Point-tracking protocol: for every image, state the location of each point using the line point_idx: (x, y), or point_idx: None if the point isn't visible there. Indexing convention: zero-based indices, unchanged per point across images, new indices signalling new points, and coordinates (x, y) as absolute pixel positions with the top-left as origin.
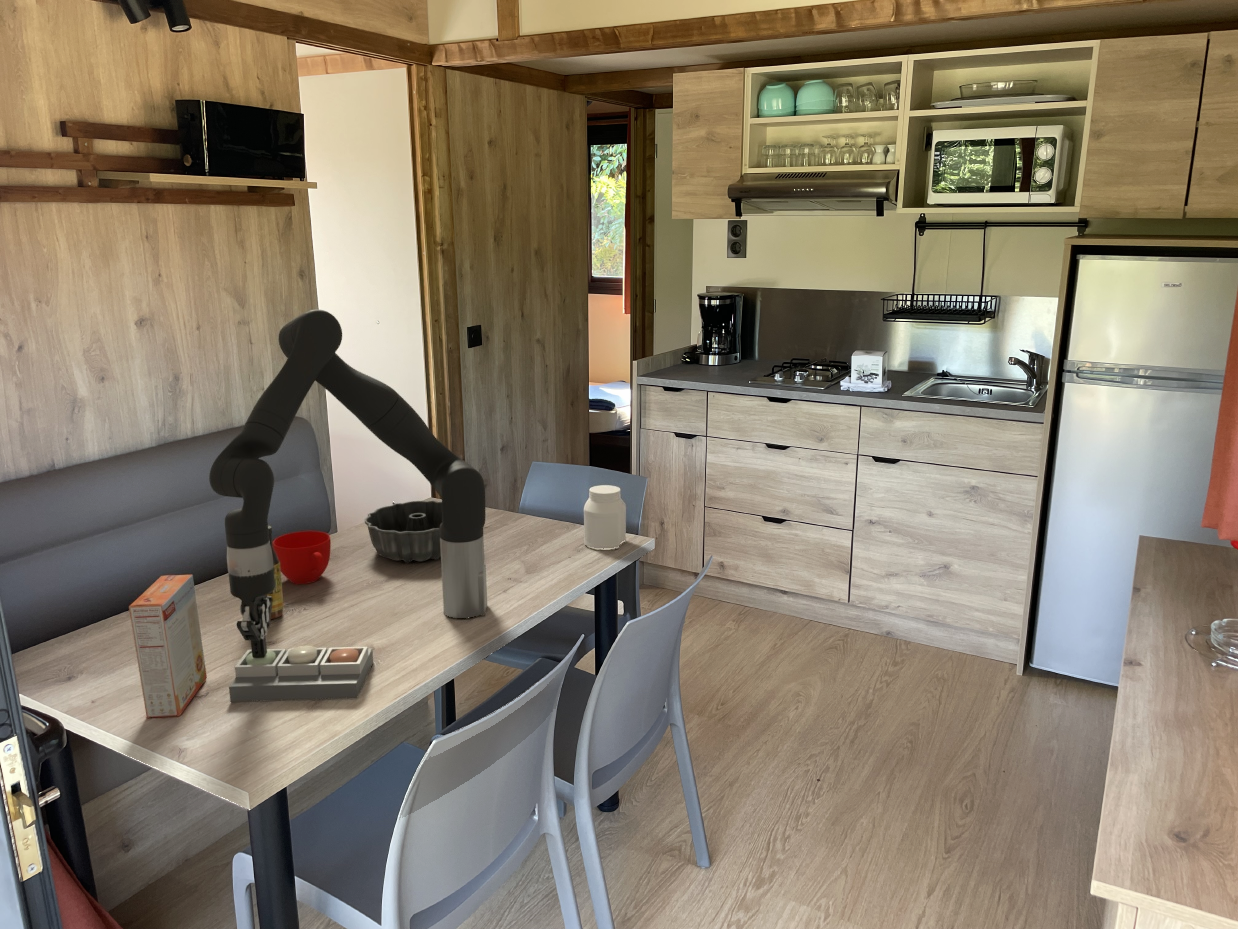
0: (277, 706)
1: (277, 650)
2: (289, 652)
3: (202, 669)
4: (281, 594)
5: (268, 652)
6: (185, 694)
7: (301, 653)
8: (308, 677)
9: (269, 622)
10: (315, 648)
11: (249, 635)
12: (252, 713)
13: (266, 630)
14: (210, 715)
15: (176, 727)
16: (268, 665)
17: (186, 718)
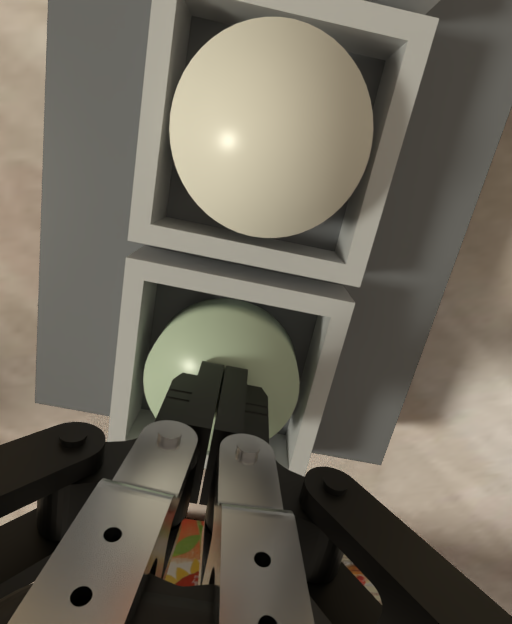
0: (468, 253)
1: (140, 305)
2: (260, 227)
3: (183, 564)
4: None
5: (178, 352)
6: (365, 581)
7: (305, 139)
8: (425, 102)
9: (41, 443)
10: (242, 28)
11: (337, 569)
12: (486, 341)
13: (152, 438)
14: (438, 469)
15: (478, 544)
16: (338, 335)
17: (429, 528)
